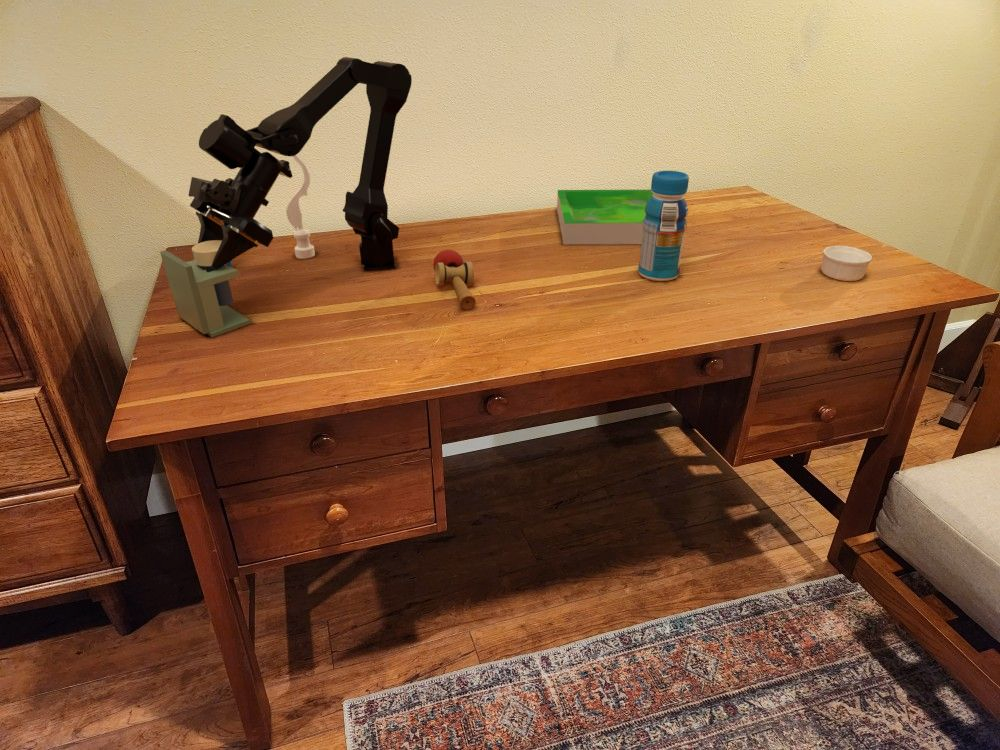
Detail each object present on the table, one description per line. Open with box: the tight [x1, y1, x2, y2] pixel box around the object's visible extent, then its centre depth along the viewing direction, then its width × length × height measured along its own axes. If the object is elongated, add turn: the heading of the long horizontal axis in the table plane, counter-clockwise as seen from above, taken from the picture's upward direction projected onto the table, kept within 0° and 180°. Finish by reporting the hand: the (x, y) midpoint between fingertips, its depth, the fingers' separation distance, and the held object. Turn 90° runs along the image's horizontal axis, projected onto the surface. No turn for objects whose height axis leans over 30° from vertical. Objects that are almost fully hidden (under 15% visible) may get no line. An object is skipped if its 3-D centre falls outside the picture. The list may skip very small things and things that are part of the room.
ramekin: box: [820, 245, 873, 282], centre depth 134 cm, size 9×9×4 cm
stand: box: [159, 250, 252, 338], centre depth 116 cm, size 8×11×13 cm
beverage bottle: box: [637, 170, 690, 282], centre depth 130 cm, size 8×8×20 cm
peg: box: [191, 240, 234, 306], centre depth 116 cm, size 6×6×10 cm
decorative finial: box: [285, 154, 316, 260], centre depth 140 cm, size 6×4×25 cm
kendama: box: [432, 249, 476, 311], centre depth 128 cm, size 8×6×18 cm
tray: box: [556, 189, 654, 245], centre depth 160 cm, size 25×25×5 cm
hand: (205, 263), depth 114 cm, fingers closed on peg, 6 cm apart
